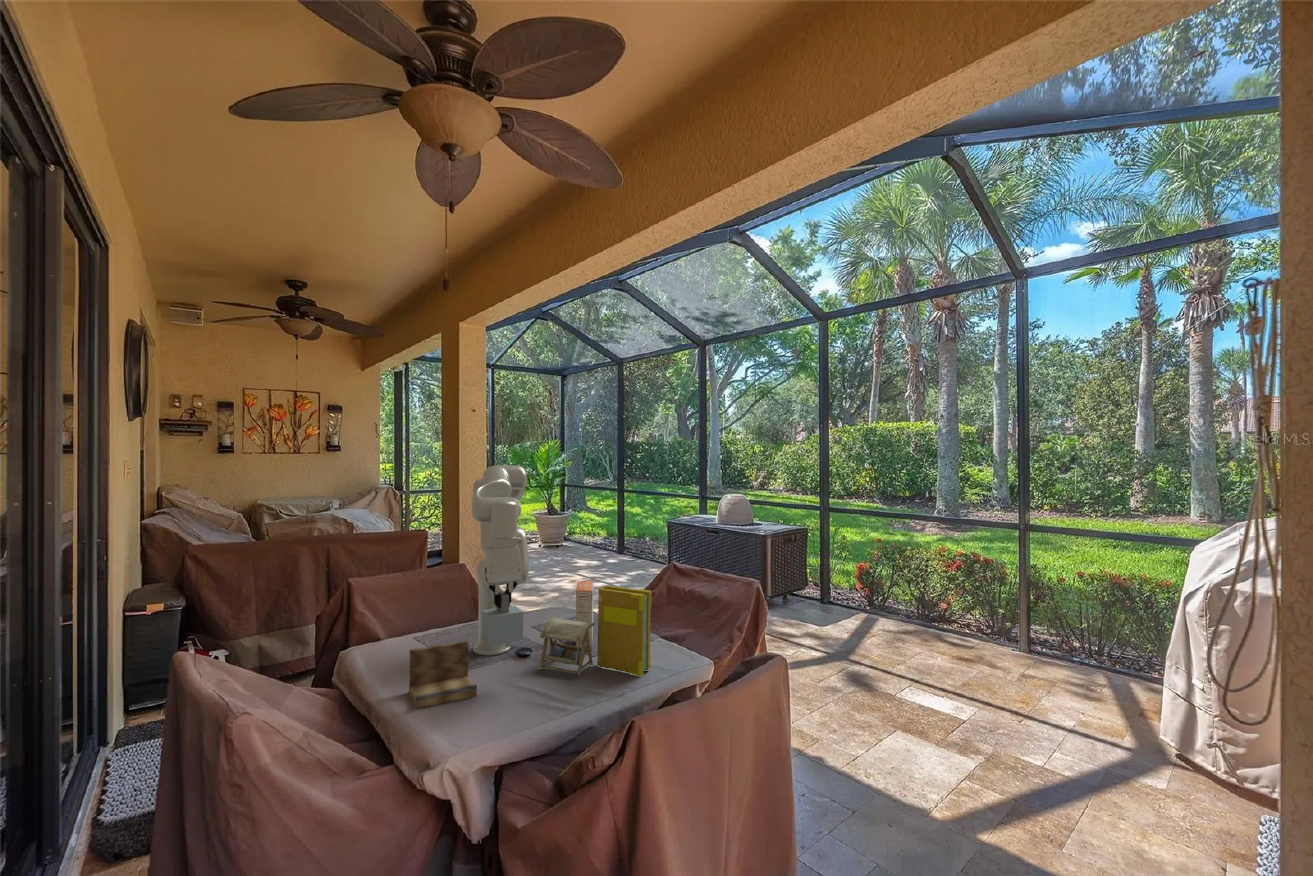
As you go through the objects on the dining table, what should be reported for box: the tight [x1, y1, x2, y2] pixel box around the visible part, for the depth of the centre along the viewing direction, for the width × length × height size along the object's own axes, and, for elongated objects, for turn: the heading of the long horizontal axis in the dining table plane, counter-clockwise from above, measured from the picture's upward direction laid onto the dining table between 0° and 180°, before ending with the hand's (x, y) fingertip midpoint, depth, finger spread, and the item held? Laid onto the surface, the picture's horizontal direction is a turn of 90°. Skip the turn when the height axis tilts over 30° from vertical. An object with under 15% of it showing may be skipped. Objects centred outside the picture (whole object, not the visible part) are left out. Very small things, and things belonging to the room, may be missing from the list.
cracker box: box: [575, 580, 594, 650], centre depth 209 cm, size 14×6×21 cm, turn 5°
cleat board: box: [408, 640, 478, 709], centre depth 165 cm, size 16×12×12 cm
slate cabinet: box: [482, 591, 524, 645], centre depth 170 cm, size 10×7×13 cm
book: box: [596, 585, 652, 677], centre depth 186 cm, size 17×7×25 cm, turn 65°
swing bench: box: [539, 617, 595, 675], centre depth 186 cm, size 15×10×15 cm, turn 70°
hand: (502, 605), depth 170 cm, fingers closed on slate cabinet
